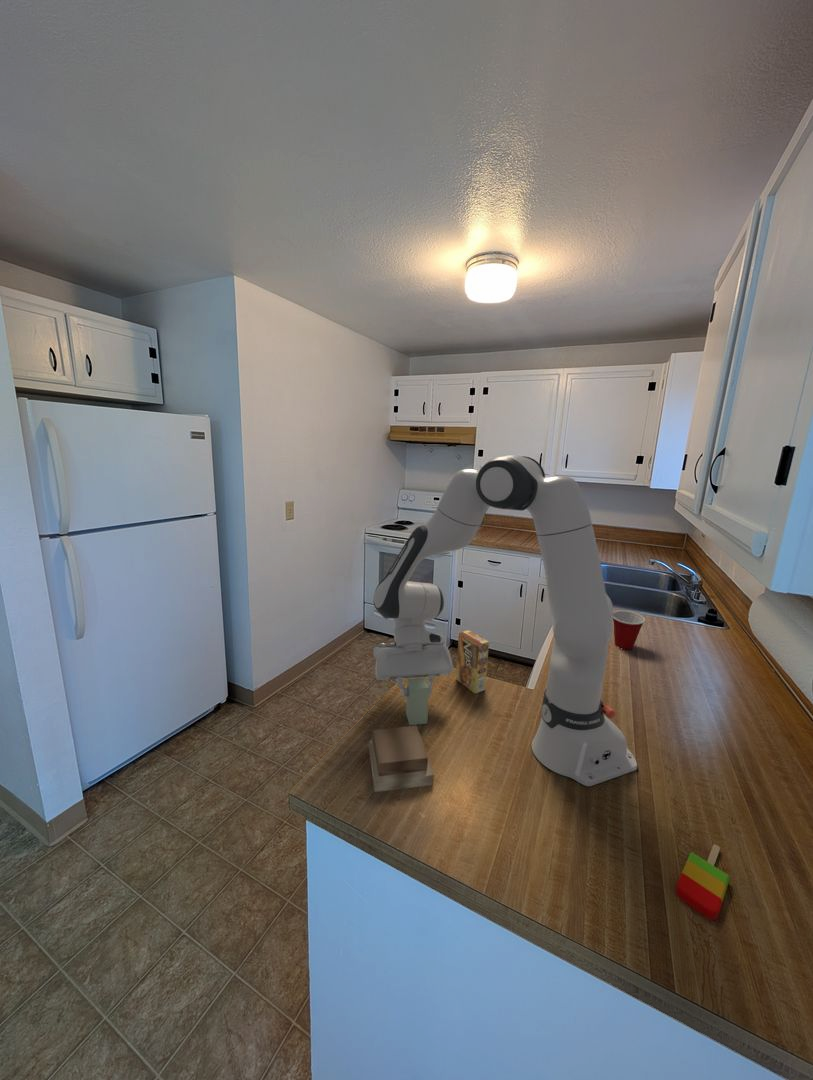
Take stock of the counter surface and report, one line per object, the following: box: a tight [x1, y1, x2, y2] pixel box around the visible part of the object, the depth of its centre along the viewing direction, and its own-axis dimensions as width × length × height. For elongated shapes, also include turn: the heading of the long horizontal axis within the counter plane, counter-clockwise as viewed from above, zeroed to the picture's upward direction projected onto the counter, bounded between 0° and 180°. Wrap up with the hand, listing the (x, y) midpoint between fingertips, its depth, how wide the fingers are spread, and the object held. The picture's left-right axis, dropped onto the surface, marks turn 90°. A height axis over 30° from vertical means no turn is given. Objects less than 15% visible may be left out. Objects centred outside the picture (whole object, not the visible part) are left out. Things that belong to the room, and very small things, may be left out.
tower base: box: [368, 734, 435, 793], centre depth 88 cm, size 12×12×3 cm
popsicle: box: [675, 843, 730, 921], centre depth 67 cm, size 6×15×2 cm, turn 132°
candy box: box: [455, 629, 490, 695], centre depth 118 cm, size 9×4×15 cm, turn 33°
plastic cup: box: [613, 610, 646, 651], centre depth 147 cm, size 11×11×12 cm
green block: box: [405, 677, 430, 726], centre depth 103 cm, size 4×4×10 cm
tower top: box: [372, 725, 429, 776], centre depth 87 cm, size 10×10×3 cm
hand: (417, 695), depth 103 cm, fingers closed on green block, 4 cm apart
